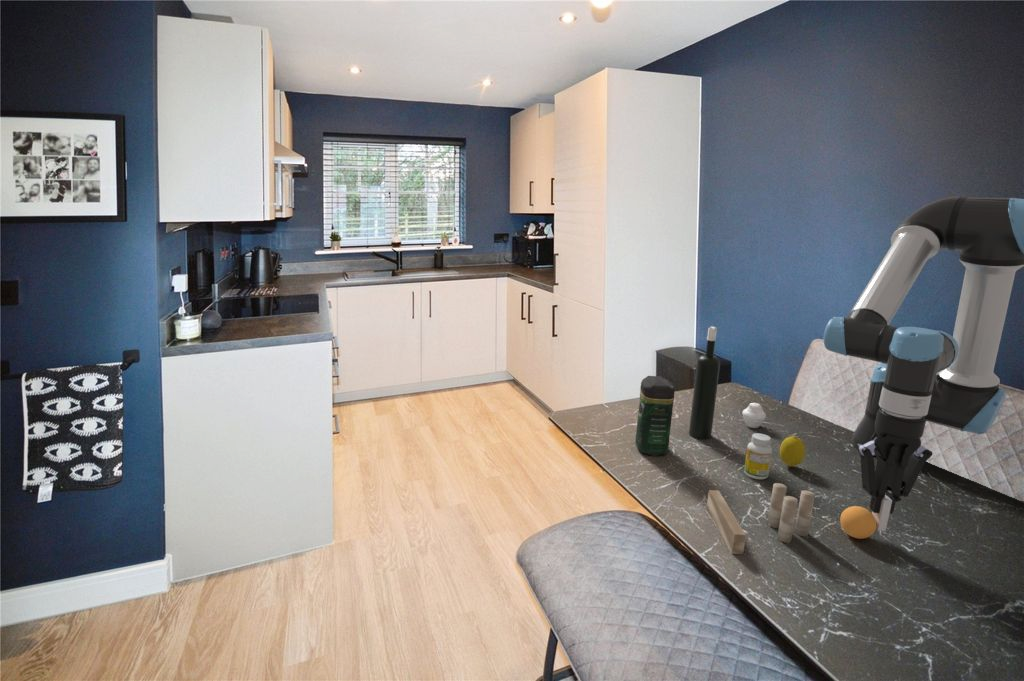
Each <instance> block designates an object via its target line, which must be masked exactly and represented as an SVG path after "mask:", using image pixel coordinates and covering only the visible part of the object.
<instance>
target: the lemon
mask: <svg viewBox="0 0 1024 681" xmlns="http://www.w3.org/2000/svg"><path fill="white" fill-rule="evenodd" d="M779 456H780V459H781V461H782V462H783V463H784V464H786V465H787V466H788V467H793V466H798V465H799V464H801V463H802V462H803V461H804V459H805V456H806V446H805V443H804V441H803V440H802V439H800V438H799V437H798V436H797V435H793V436H788V437H786V438H784V440H783V441H782V442H781V445H780V447H779Z"/></svg>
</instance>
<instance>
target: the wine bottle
mask: <svg viewBox="0 0 1024 681" xmlns="http://www.w3.org/2000/svg"><path fill="white" fill-rule="evenodd" d="M717 333H718V327H716V326H712V325H711V326H709V327H708V329H707V336H706V348H705V349H706V350H705V354H703V355H700V356H699V357H698V358H697V361H696V368H695V377H694V385H693V393H692V395H693V396H692V403H691V409H690V410H691V412H690V419H689V427H688V434H689V436H690V437H693V438H695V439H699V440H708V439H710V438H712V433H713V424H714V418H715V417H714V414H715V408H716V407H715V406H716V399H717V391H718V385H719V384H718V383H719V375H720V370H721V361H720V359H719V358H718V357H717V356H715V355H714V354H715V345H716V340H717V335H718V334H717Z"/></svg>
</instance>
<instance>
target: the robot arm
mask: <svg viewBox="0 0 1024 681" xmlns="http://www.w3.org/2000/svg"><path fill="white" fill-rule="evenodd" d="M941 250H948V251H955V252H956V251H957V252H960V253H959V258H958V259H959V260H958V261H959V262H960V263H961V264H962V265H963V266H964V268H965V272H964V277H963V282H962V286H961V287H962V288H961V292H960V297H959V303H958V308H957V312H956V318H955V324H954V327H953V333H952V334H953V335H951V334H949V333H947V332H946V331H942V330H934V329H931V328H930V329H929V328H925V327H920V326H919V327H917V326H900V327H899V326H894V325H890V324H891V322H892V321H893V318H894V317H895V316H896V314H897V312H898V310H899V309H900V307H901V305H902V304H903V301H904V300H905V298H906V296H907V295H908V293H909V291H910V290H911V288H912V287H913V285H914V283H915V282H916V280H917V278H918V276H919V275H920V274H921V271H922V270H923V268H924V266H925V264H926V262H927V261H928V260H930V259H931V258H933V257H934V256H936V255H937V254H938V252H939V251H941ZM1023 267H1024V198H1016V197H975V196H974V197H963V196H949V197H945V198H941V199H938V200H935V201H934V200H933V201H931V202H930V203H927V204H925V205H923V206H922V207H920V208H919V209H917V210H915V211H914V212H912V213H911V214H910V215H908V216H907V217H906V218H905V219H903V221H902V222H901V223H899V225H898V226H897V228H895V230H894V232H893V234H892V235H891V237H890V248H889V249H888V250H887V252H886V254H885V255H884V257H883V259H882V260H881V262H880V263H879V265H878V267H877V268H876V270H875V272H874V273H873V274H872V277H871V278H870V279H869V282H868V283H867V284H866V286H865V288H864V289H863V291H862V292H861V294H860V296H859V297H858V299H857V301H856V303H855V304H854V306H853V307H852V309H851V310H850V312H849V314H848V315H847V316H846V317H844V316H833V317H832V318H830V320H828V322H827V323H826V325H825V328H824V332H823V339H822V340H823V345H824V347H825V349H826V350H828V351H829V352H832V353H836V354H840V355H843V356H846V357H848V356H850V357H853V358H858V359H862V360H868V361H873V362H877V363H878V362H879V363H878V364H877V365H876V366H875V367H874V369H873V372H872V376H871V378H870V385H869V389H868V395H867V401H866V405H865V411H864V415H863V417H862V419H861V420H860V422H859V424H858V425H857V427H856V429H855V430H854V431H853V433H852V437H851V444H852V445H853V447H855V448H856V450H857V451H858V453H859V455H860V456H859V457H860V471H861V485H862V489H863V490H864V492H866V493H867V494H868V495H870V496H871V497H870V502H869V509H870V510H871V513H872V514H873V516H874V518H875V520H876V529H875V530H877V532H887V526H888V522H889V518H890V514H893V513H894V512H895V506H896V503H897V502H900V501H901V500H902V498H901V497H904V498H907V497H908V496H909V495H910V494H911V491H912V490H913V487H914V486H915V484H916V481H917V480H918V477H919V476H920V473H921V471H922V469H923V467H924V465H925V463H926V462H927V461H928V460H929V459H930V458H931V457H932V456H933V452H932V451H931V450H930V449H928V448H927V447H925V446H923V445H922V440H921V438H922V437H923V435H924V432H925V427H926V422H928V423H932V424H936V425H940V426H944V427H947V428H950V429H955V430H959V431H960V432H965V433H966V432H967V433H971V434H976V435H984V434H986V433H987V432H989V431H990V429H991V427H993V424H994V422H995V420H996V419H997V416H998V415H999V412H1000V411H1001V409H1002V407H1003V403H1004V402H1005V400H1006V397H1007V390H1006V389H1003V387H999V386H1000V382H1001V381H1000V380H1001V379H1000V377H999V376H997V375H996V374H995V372H994V370H995V365H996V361H997V356H998V353H999V347H1000V343H1001V339H1002V333H1003V331H1004V330H1003V329H1004V325H1005V321H1006V318H1007V317H1006V316H1007V313H1008V307H1009V304H1010V298H1011V294H1012V290H1013V285H1014V281H1015V276H1016V273H1017V271H1018V270H1020V269H1022V268H1023ZM874 457H875V458H876V465H875V458H874Z"/></svg>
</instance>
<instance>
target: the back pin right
mask: <svg viewBox="0 0 1024 681" xmlns="http://www.w3.org/2000/svg"><path fill="white" fill-rule="evenodd" d="M787 489H788V487H787V485H786V484H783V483H781V482H780V483H779V482H775V483H773V485H772V491H771V492H772V493H771V498H770V503H769V509H768V515H767V516H768V517H767V522H766V524H767V525H768V527H770V528H774V529H779V525H780V519H781V513H782V507H783V501H784V497H785V496H787Z"/></svg>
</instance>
